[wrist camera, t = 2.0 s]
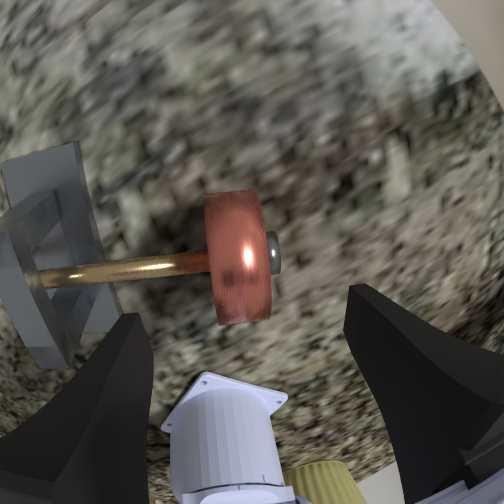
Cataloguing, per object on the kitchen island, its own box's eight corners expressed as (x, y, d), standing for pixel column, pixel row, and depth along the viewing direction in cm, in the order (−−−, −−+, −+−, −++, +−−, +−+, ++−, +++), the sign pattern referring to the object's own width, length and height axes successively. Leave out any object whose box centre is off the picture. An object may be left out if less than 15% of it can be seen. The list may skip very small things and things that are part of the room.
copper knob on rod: (16, 299, 18) (-20, 360, 12) (-15, 219, 15) (-70, 268, 10) (267, 273, 19) (290, 343, 14) (262, 173, 16) (291, 216, 11)
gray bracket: (63, 327, 20) (36, 393, 14) (7, 160, 14) (-58, 196, 9) (126, 323, 20) (110, 396, 15) (78, 140, 14) (21, 169, 9)
